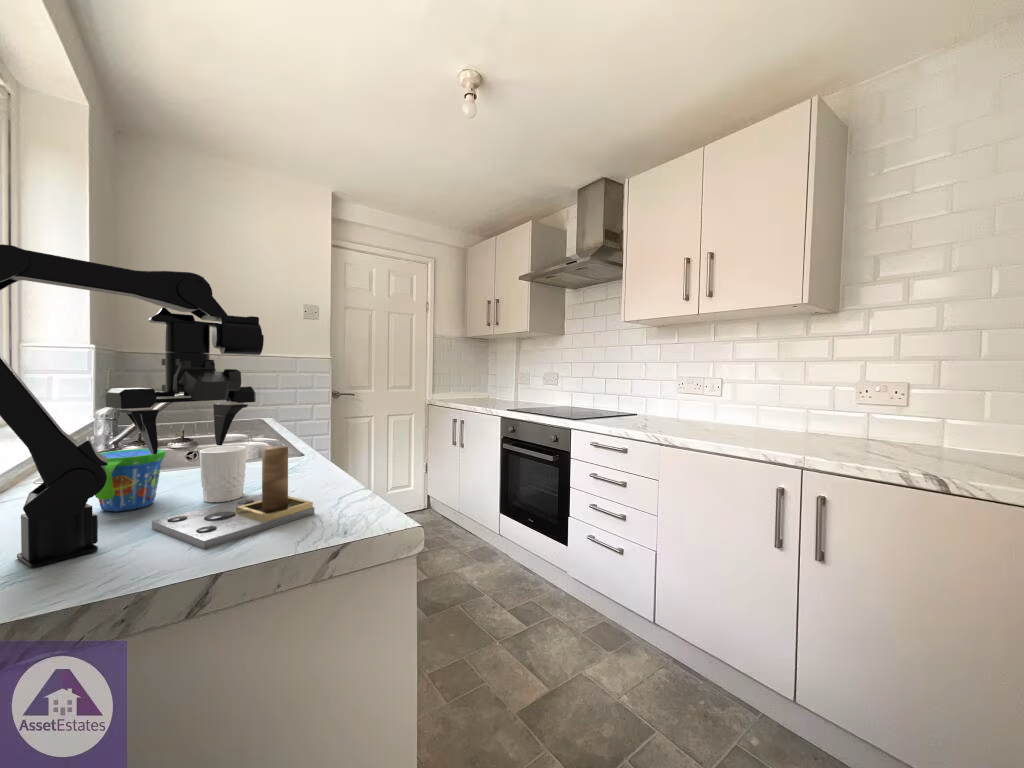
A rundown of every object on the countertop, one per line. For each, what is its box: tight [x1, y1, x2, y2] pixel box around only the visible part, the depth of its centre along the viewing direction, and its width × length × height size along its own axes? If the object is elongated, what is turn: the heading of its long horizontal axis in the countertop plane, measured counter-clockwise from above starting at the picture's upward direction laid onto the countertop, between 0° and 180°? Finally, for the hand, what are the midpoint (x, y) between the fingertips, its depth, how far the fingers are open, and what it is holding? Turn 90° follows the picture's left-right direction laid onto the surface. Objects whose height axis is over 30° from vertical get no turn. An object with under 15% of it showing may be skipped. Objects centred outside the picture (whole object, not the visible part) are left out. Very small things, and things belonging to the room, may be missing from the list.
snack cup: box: [94, 448, 166, 512], centre depth 80 cm, size 16×10×10 cm
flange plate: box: [151, 493, 315, 550], centre depth 73 cm, size 18×16×2 cm
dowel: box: [261, 445, 289, 513], centre depth 75 cm, size 4×4×11 cm
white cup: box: [199, 445, 248, 504], centre depth 86 cm, size 8×8×10 cm
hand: (188, 449), depth 69 cm, fingers open, 9 cm apart
